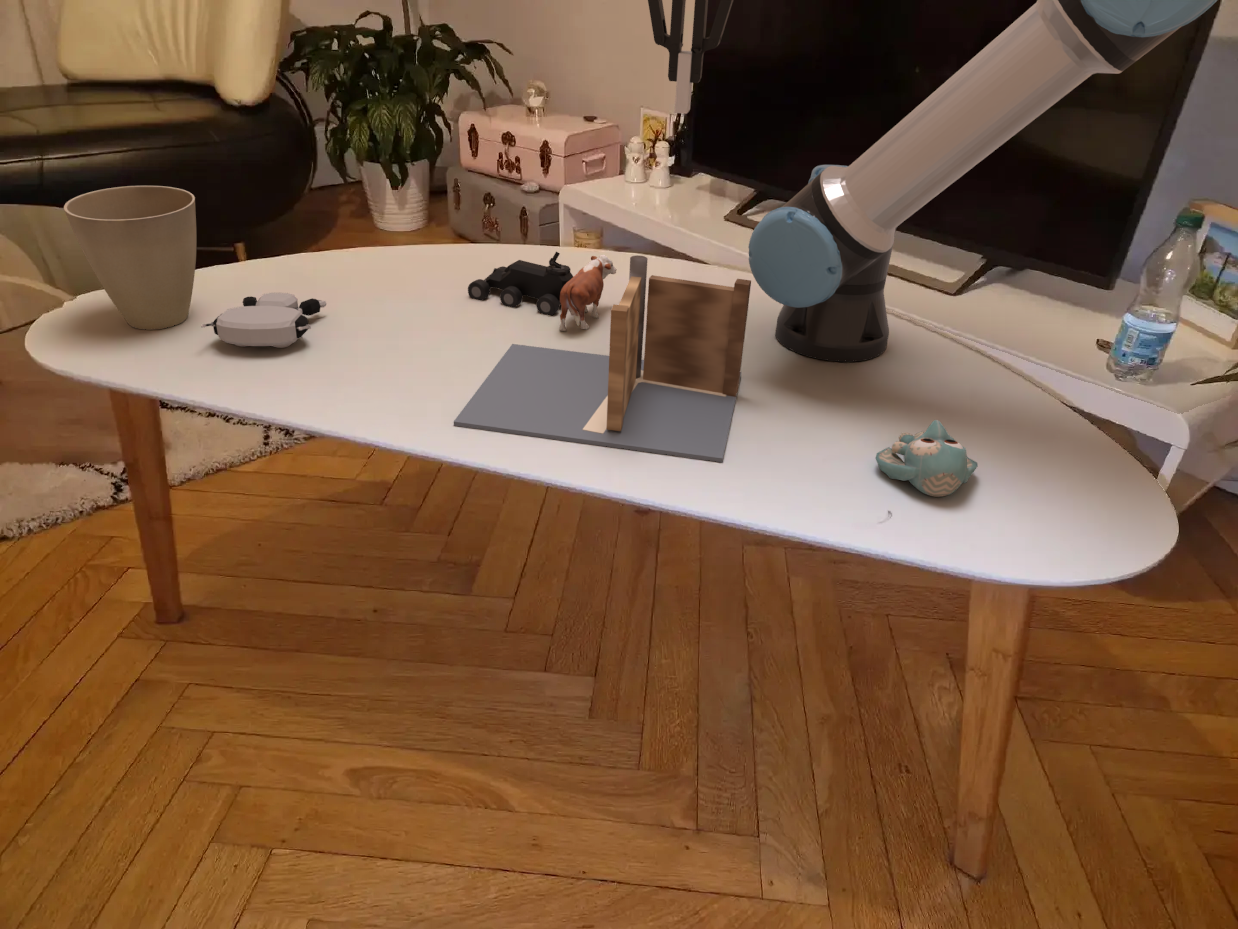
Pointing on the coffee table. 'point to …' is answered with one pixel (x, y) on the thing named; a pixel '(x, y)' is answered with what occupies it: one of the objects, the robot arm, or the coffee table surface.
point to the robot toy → (266, 320)
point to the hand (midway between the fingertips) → (682, 110)
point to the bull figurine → (585, 290)
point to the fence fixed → (691, 331)
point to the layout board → (596, 406)
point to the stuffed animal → (928, 461)
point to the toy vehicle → (525, 284)
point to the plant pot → (140, 249)
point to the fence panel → (623, 353)
